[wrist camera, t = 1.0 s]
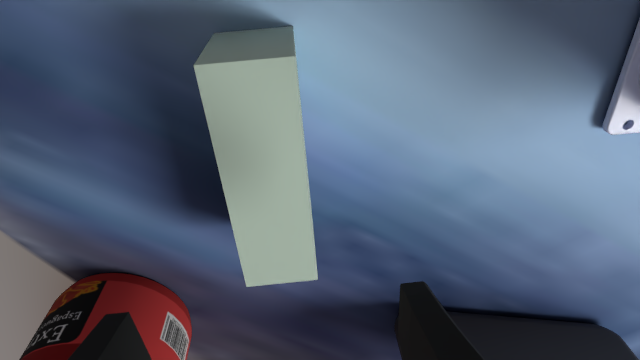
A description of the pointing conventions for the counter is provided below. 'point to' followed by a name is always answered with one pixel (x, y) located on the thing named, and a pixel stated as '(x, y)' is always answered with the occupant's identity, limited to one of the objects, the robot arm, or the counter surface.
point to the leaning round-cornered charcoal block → (537, 339)
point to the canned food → (107, 298)
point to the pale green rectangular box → (260, 150)
